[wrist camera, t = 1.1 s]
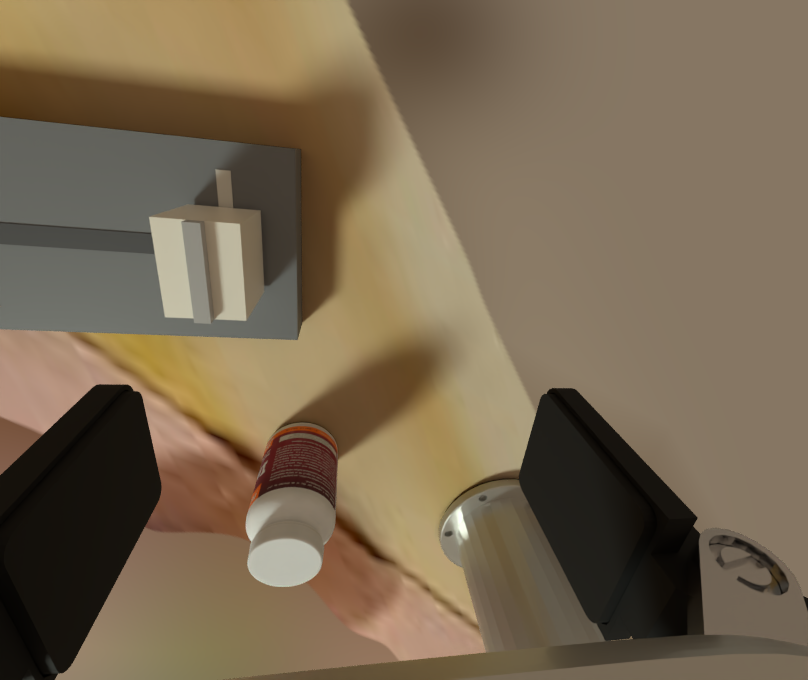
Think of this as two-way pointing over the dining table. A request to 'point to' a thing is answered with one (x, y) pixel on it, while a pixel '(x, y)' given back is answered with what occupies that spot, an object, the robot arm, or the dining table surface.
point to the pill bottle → (293, 505)
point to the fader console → (133, 226)
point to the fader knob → (209, 262)
